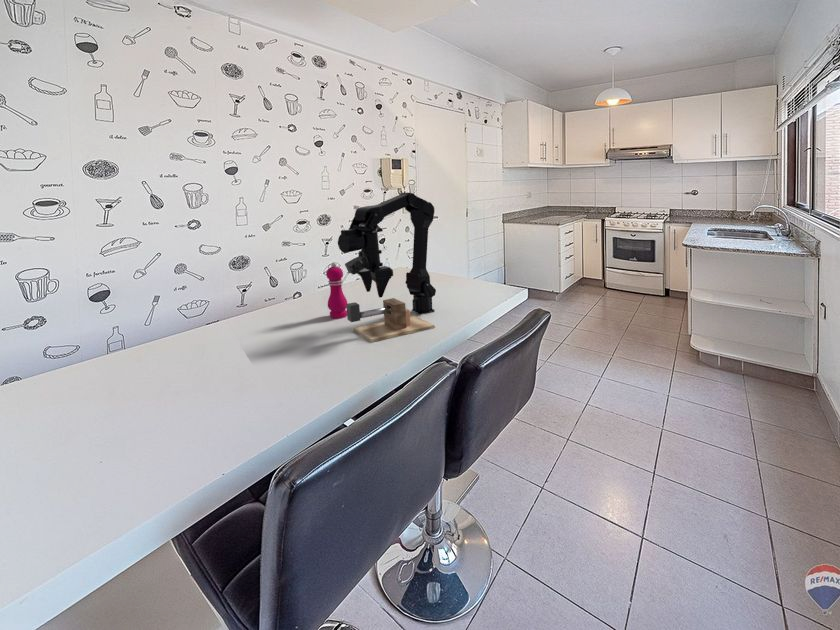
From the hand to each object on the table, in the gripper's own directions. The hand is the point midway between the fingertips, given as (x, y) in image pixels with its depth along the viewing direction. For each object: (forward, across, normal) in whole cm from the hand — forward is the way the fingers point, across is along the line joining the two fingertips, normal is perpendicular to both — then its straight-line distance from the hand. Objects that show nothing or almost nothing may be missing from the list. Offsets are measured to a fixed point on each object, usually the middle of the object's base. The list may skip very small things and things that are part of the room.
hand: (374, 294), depth 148 cm
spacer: (+10, +6, +7) cm, 14 cm away
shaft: (+5, +6, -4) cm, 9 cm away
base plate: (+11, +6, +3) cm, 13 cm away
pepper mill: (+12, -20, -6) cm, 24 cm away
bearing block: (+11, +6, +4) cm, 13 cm away
